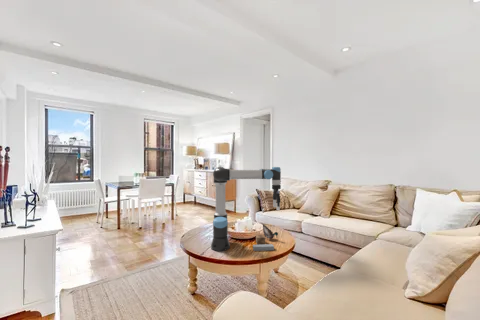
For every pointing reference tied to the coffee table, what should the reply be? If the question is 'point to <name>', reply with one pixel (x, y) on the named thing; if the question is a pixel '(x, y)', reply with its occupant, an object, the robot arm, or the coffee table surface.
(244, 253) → the coffee table surface
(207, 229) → the coffee table surface
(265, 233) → the decorative duck model
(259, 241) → the walnut block
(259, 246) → the board
